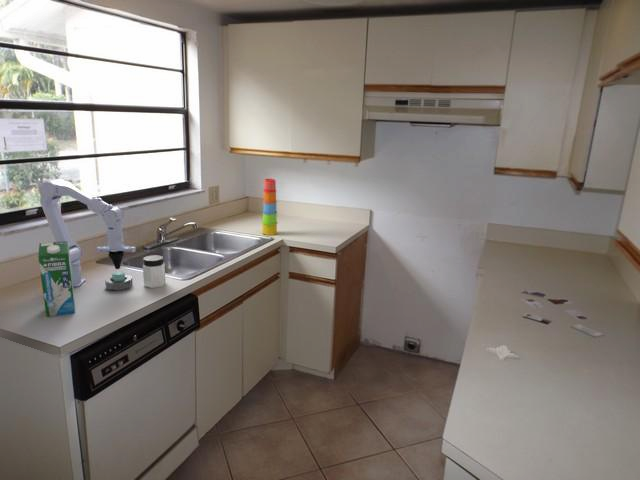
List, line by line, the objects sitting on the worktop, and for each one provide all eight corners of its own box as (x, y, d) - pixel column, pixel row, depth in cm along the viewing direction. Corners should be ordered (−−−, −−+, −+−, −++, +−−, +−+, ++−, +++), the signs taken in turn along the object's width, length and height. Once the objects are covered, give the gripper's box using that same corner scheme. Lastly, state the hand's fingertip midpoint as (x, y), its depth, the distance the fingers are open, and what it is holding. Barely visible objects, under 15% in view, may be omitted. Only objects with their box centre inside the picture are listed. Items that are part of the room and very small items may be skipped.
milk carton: (46, 316, 158) (37, 249, 152) (47, 307, 166) (39, 242, 159) (75, 312, 162) (67, 247, 156) (75, 303, 170) (68, 240, 163)
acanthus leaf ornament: (485, 351, 148) (486, 346, 148) (501, 348, 151) (502, 343, 151) (502, 362, 142) (503, 357, 141) (519, 359, 144) (519, 354, 144)
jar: (146, 289, 186) (144, 262, 183) (141, 283, 193) (140, 256, 190) (168, 285, 191) (166, 259, 188) (163, 279, 198) (161, 254, 195)
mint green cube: (110, 286, 185) (109, 275, 184) (115, 281, 190) (114, 271, 189) (123, 286, 185) (122, 276, 184) (127, 281, 190) (126, 271, 189)
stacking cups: (281, 233, 283) (282, 179, 274) (269, 236, 276) (270, 180, 266) (269, 230, 290) (270, 177, 280) (258, 233, 282) (258, 178, 273)
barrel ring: (102, 291, 183) (101, 283, 182) (110, 282, 192) (109, 274, 191) (128, 290, 184) (128, 283, 183) (135, 282, 194) (134, 274, 193)
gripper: (93, 239, 177) (96, 271, 181) (131, 239, 180) (133, 271, 183) (98, 235, 184) (101, 266, 188) (135, 235, 186) (137, 265, 190)
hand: (117, 268), depth 186 cm, fingers closed
